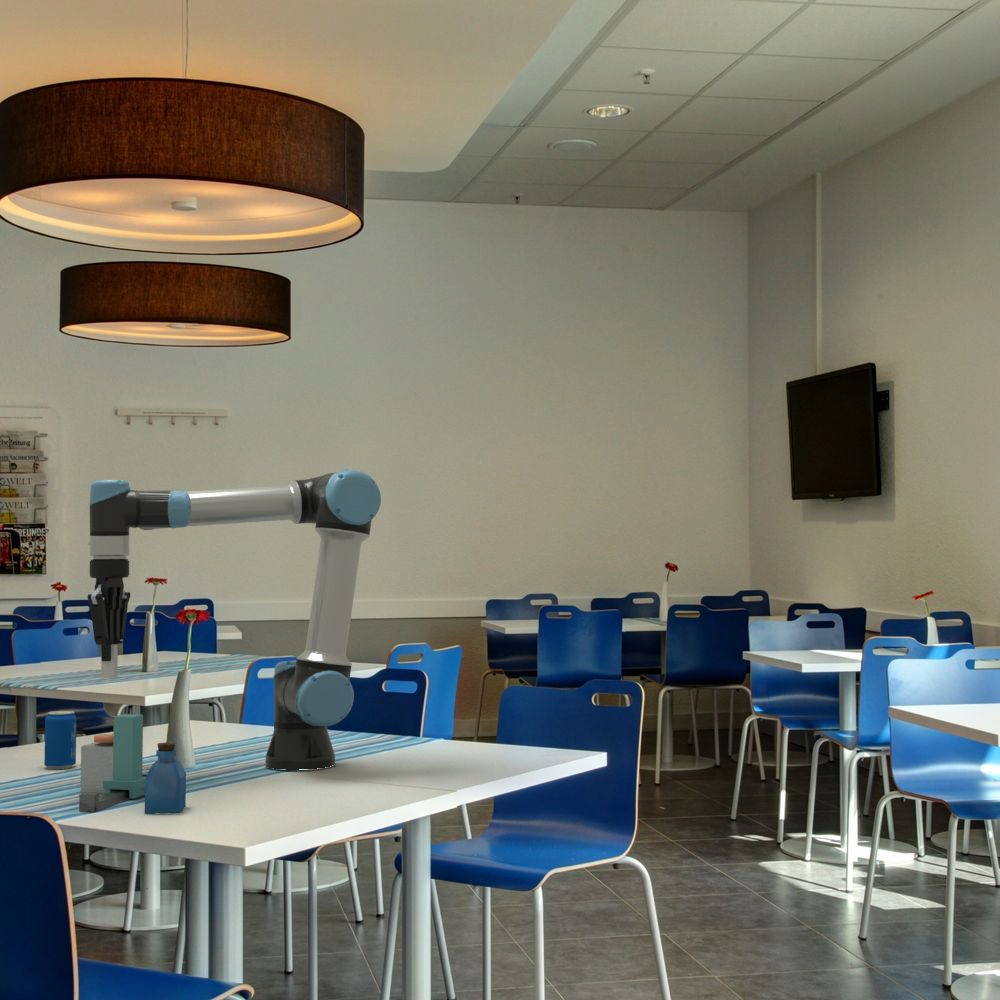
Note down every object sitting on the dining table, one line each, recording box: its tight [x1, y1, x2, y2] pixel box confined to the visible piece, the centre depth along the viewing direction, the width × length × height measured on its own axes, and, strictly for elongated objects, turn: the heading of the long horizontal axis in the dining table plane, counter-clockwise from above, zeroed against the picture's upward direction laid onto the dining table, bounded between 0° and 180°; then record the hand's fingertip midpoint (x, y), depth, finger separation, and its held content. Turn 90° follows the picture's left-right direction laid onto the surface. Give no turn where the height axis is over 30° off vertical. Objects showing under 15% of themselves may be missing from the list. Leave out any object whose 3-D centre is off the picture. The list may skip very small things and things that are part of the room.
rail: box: [78, 772, 148, 813], centre depth 246 cm, size 3×24×3 cm, turn 168°
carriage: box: [103, 713, 146, 800], centre depth 249 cm, size 7×6×15 cm
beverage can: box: [43, 710, 77, 771], centre depth 283 cm, size 6×6×12 cm
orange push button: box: [93, 733, 113, 746], centre depth 256 cm, size 5×5×6 cm
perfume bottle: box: [144, 742, 187, 815], centre depth 236 cm, size 6×6×12 cm
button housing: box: [79, 742, 113, 795], centre depth 256 cm, size 7×7×9 cm
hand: (109, 677), depth 257 cm, fingers closed
